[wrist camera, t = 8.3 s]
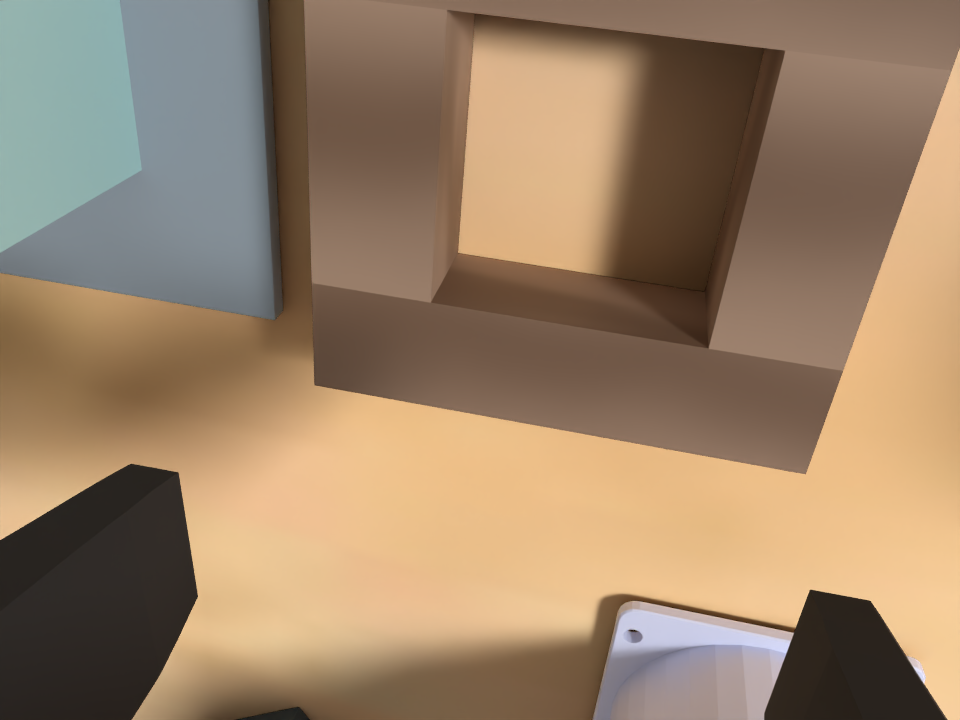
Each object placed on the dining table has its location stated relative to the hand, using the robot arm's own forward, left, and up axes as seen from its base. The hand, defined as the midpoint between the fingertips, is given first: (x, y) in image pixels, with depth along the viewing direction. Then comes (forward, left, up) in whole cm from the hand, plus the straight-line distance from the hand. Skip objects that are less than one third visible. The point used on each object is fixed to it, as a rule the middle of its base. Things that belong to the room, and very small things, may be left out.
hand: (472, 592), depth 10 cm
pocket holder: (+2, 0, -10) cm, 11 cm away
